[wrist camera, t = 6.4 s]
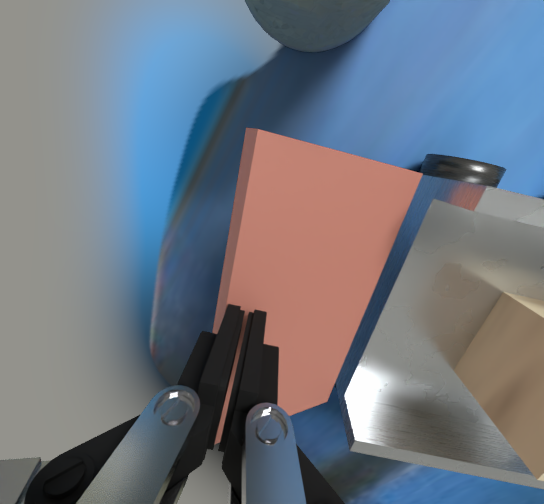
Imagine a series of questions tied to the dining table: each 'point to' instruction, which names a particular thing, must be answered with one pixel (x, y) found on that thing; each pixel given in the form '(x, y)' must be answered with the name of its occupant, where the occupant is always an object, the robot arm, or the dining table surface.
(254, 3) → the grey round bin
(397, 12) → the dining table surface
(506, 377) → the box
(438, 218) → the cart
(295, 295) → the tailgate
